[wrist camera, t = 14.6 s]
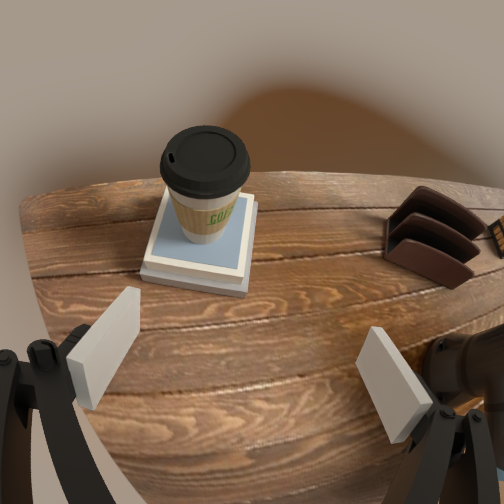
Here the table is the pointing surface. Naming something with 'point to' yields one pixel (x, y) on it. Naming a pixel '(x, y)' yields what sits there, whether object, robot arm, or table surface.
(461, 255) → the letter holder
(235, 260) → the plinth
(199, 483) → the table surface
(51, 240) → the table surface
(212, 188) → the coffee cup
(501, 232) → the ammunition clip
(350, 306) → the table surface
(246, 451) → the table surface
